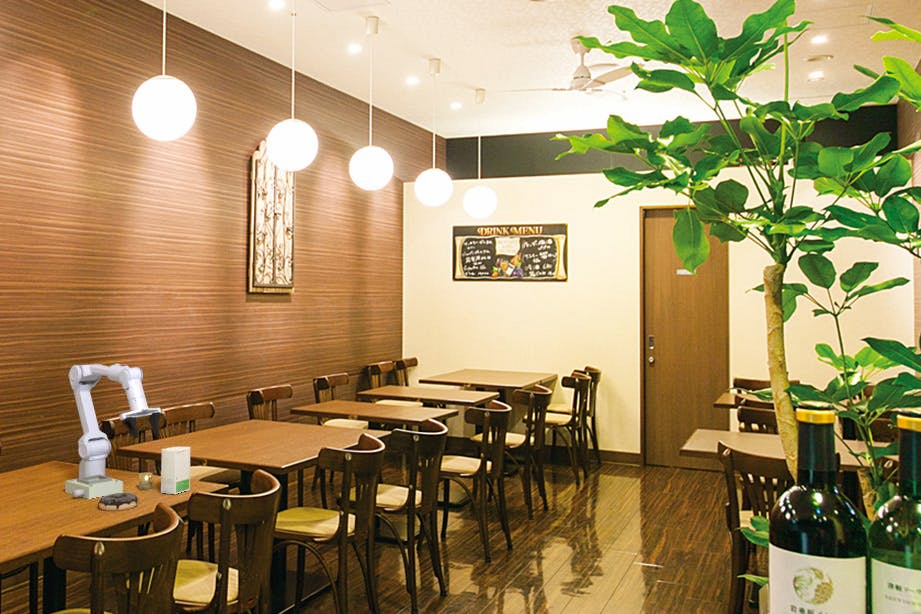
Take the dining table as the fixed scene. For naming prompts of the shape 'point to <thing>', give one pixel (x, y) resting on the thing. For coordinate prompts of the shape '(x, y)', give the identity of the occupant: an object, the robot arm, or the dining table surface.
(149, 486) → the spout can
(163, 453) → the skincare box
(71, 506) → the dining table surface
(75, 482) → the gearbox
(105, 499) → the donut
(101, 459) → the robot arm
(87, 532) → the dining table surface
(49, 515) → the dining table surface
